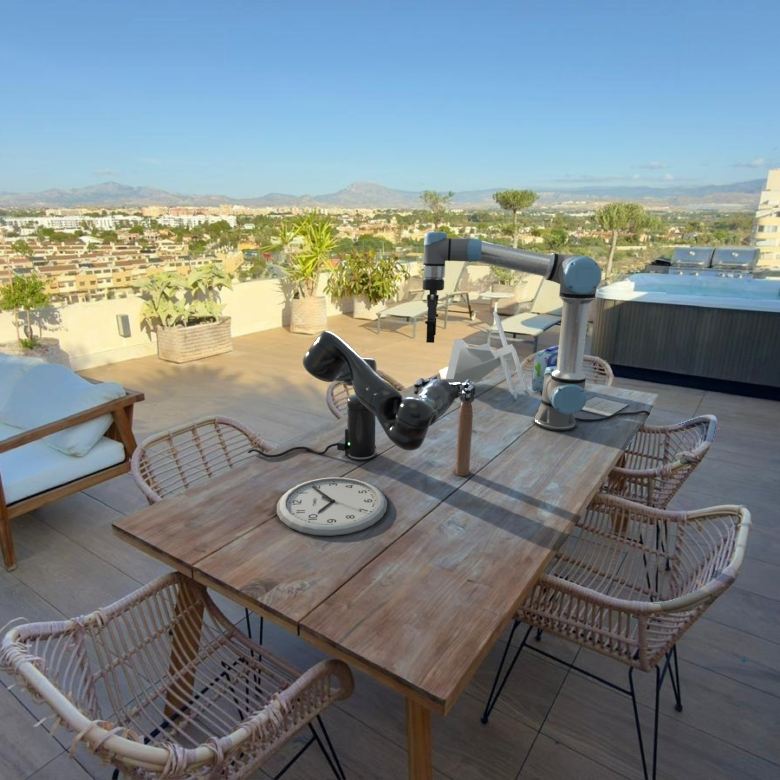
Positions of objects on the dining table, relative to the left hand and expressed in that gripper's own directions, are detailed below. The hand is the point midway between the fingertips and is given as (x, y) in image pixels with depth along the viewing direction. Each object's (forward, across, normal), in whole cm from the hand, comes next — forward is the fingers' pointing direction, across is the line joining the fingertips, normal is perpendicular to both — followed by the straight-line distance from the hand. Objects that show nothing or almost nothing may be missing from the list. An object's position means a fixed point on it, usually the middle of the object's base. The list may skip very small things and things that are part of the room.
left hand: (451, 381), depth 133 cm
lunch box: (+124, +19, -36) cm, 130 cm away
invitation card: (+107, +41, -36) cm, 120 cm away
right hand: (+53, -21, -1) cm, 57 cm away
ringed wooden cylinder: (+21, 0, -36) cm, 42 cm away
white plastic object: (+107, -12, -35) cm, 113 cm away
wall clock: (-12, -29, -36) cm, 47 cm away
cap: (+21, 0, -10) cm, 23 cm away
